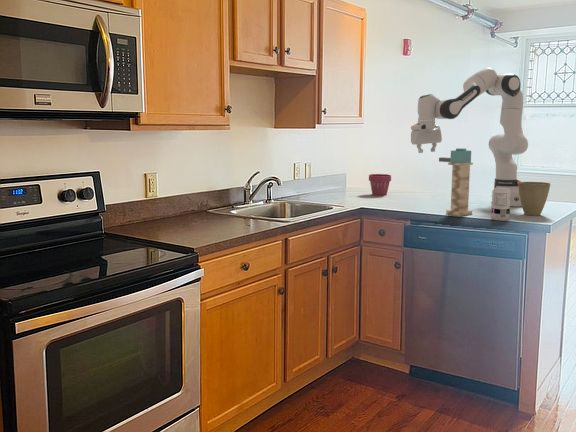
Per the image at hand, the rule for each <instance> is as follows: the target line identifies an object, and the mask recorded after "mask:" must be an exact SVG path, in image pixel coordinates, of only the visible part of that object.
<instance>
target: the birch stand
mask: <svg viewBox="0 0 576 432" xmlns="http://www.w3.org/2000/svg"><path fill="white" fill-rule="evenodd" d="M447 165H450V166H452V169H451V196H450V209H446V211H445V214H446V215H450V214H451V215H452V216H456V215H457V216H456V217H465V216H469V215H470V216H471V214H472V215H473V210H471V209H469V201H470V200H469V198H470V197H469V195H470V194H469V193H470V177H471V176H470V175H471V174H470V171H471V166H473V165H474V162H471V163H450V162H447ZM464 215H465V216H464Z"/></svg>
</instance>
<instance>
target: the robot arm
mask: <svg viewBox="0 0 576 432" xmlns="http://www.w3.org/2000/svg"><path fill="white" fill-rule="evenodd" d="M521 85H522V84H521V79H520V77H519V76H518V75H516V74H515V73H501V74H498V73H497V72H496V70H495V69H493V68H491V67H485V68H483V69H481V70H479V71H477V72H475V73H474V74H472V75H471V76H469V77H468V78H466V80H465V81H464V82H463V85H462V86H463V87H462V90H463V92H462V93H461V94H459V95H458V96H456V97H455V98H450V99H444V100H443V99H440V98H438V97H436V96H435V95H434V94H432V93H430V94H425V95H421V96H419V98H418V100H417V115H418V116H417V117H418V118H417V122H416V123H415V124H413V125H411V127H410V130H411V132H410V143H411V144H412V145H414V146H415V145H416V148H417V150H418V151H417V152H418V153H419V154H423V152H424V149H422V145H425V144H427V145H428V144H431V145H432V146H431V148H430V152H431V153H433V152H436V147H437V144H438V143H442V141H443V138H442V136H443V135H442V130H441V127H440V126H439V125H438V124H437V125H436V119H437V120H444V119H445V120H447V119H448V120H453V119H456V118H457V117H459V115H460V114H461V112H462V111H463V109H464V108H466V107H467V106H468V105H469V104H470V103H471V102H473V101H474V100H475V99H476V98H478V97H479V96H481V95H483V94H484V93H486V94H487V95H489V96H500V97H501V100H502V103H501V107H500V116H499V124H500V125H501V126H502V128H503V133H501V134H496V135H493V136H491V137H490V139H489V141H488V149H489V150H490V151H491V153H492V154H493V157H494V161H495V178H494V181H493V183H494V184H493V189H494V188H496V187H504V188H510V191H511V199H510V207H522V205H521V200H520V195H519V188H518V182H522V181H521V180H518V179H517V176H518V175H517V174H518V164H517V163H516V162H515V161H514V159H513V155H515V156H516V155H521V154H524V153H525V152H527V150H528V149H529V148H528V147H529V140H528V139H527V138H526V136H525V134H524V132H523V128H522V118H523V109H524V94H523V91H522V90H521ZM490 203H491V204H492V201H491V202H490Z"/></svg>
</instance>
